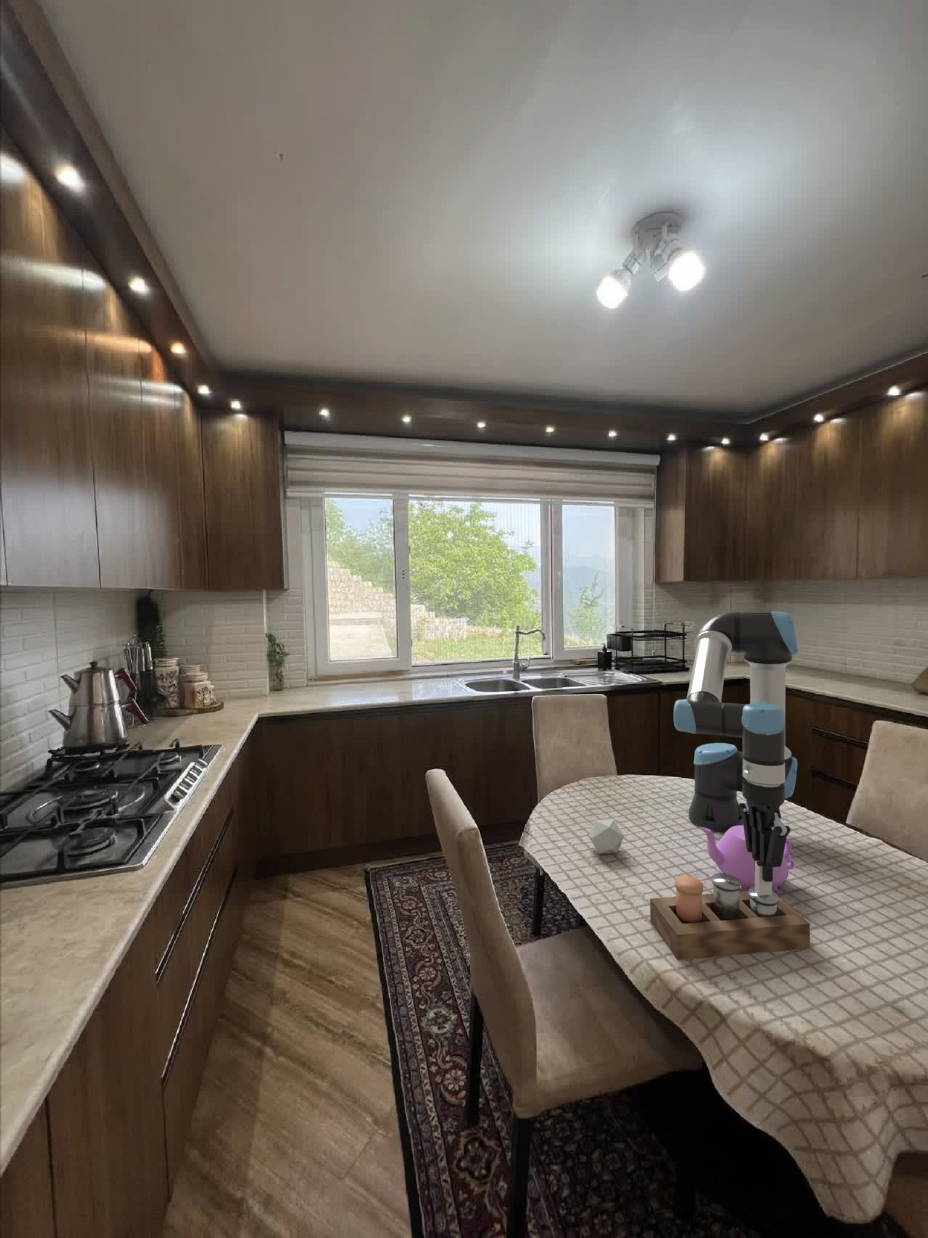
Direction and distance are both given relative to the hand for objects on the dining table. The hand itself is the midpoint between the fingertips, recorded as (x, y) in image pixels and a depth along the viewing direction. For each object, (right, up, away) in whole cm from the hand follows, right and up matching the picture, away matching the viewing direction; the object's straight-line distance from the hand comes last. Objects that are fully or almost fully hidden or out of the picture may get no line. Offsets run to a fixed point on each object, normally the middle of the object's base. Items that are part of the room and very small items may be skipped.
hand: (763, 893), depth 108 cm
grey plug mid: (-8, -4, 0) cm, 9 cm away
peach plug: (-16, -4, -1) cm, 16 cm away
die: (-23, -7, +36) cm, 43 cm away
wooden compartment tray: (-8, -8, 0) cm, 11 cm away
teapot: (+7, -7, +19) cm, 21 cm away
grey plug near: (0, -7, 0) cm, 7 cm away
